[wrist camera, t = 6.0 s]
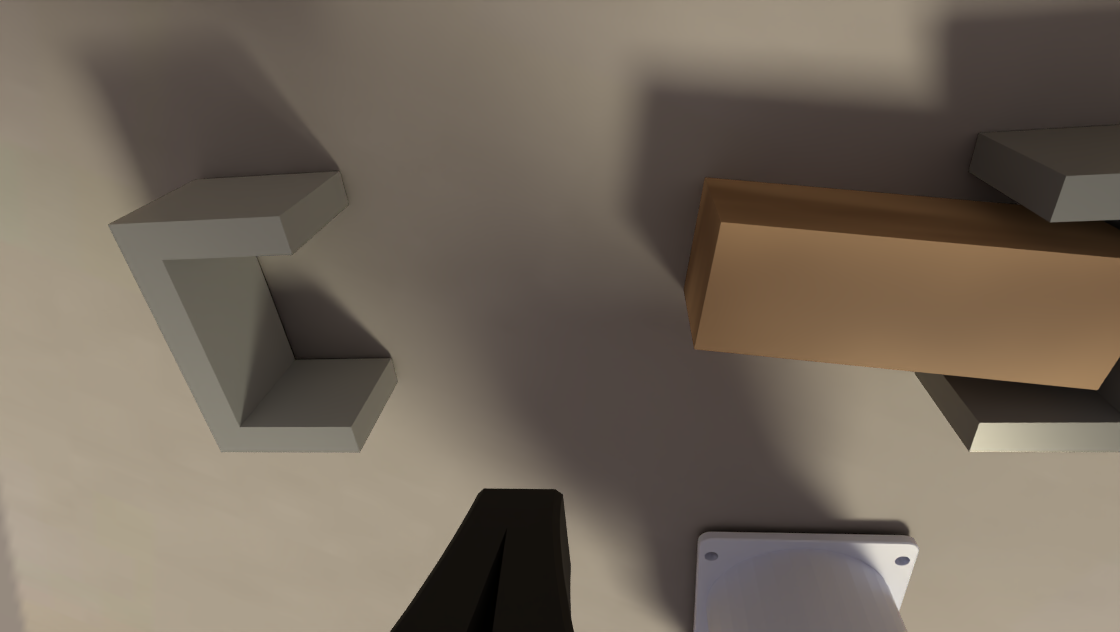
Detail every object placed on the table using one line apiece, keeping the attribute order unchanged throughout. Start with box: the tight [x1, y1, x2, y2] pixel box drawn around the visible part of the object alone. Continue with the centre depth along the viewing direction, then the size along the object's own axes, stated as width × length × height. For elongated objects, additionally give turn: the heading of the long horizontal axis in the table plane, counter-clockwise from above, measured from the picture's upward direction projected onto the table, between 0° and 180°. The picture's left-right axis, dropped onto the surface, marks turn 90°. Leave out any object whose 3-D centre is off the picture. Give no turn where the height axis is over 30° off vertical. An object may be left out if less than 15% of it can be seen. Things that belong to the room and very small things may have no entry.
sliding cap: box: [108, 171, 398, 453], centre depth 18 cm, size 8×4×4 cm, turn 5°
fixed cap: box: [915, 125, 1120, 452], centre depth 15 cm, size 8×4×4 cm, turn 5°
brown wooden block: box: [684, 177, 1120, 390], centre depth 16 cm, size 4×10×4 cm, turn 87°
